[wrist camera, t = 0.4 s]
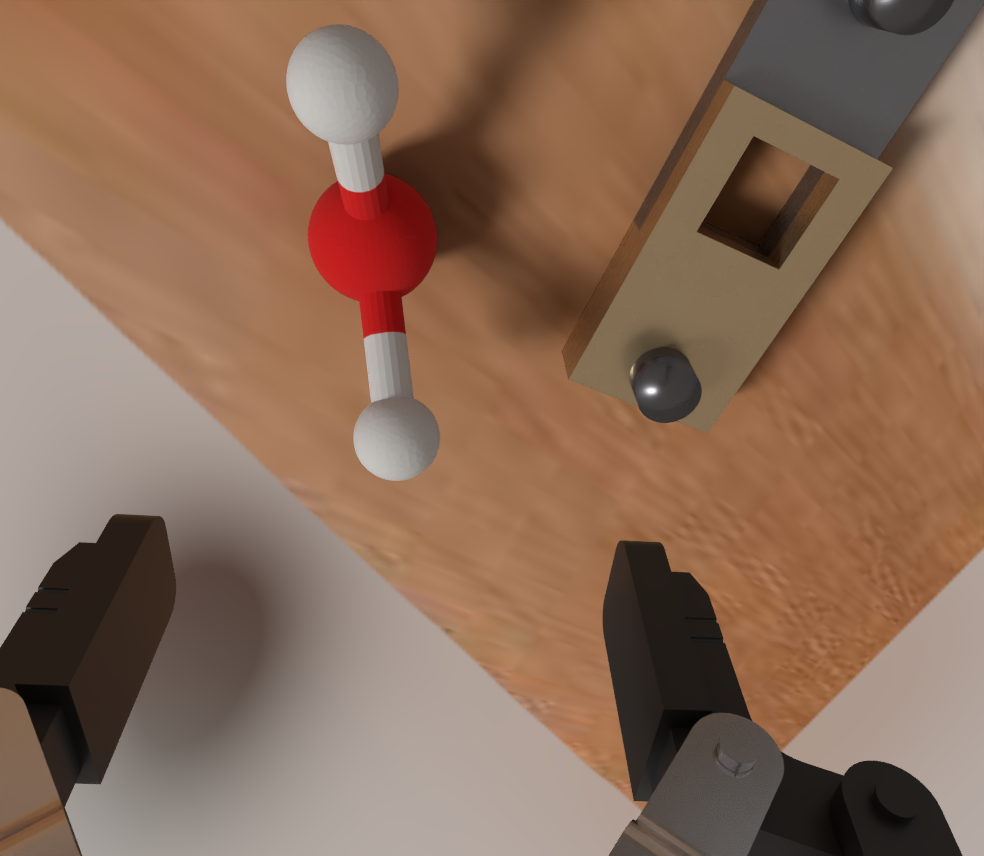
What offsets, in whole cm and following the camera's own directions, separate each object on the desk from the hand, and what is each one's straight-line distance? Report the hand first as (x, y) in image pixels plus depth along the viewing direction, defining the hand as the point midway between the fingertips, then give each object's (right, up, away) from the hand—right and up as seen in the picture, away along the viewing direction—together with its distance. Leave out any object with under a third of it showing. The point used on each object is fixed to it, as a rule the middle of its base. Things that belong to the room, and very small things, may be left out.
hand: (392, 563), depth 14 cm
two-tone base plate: (+14, +14, +22) cm, 30 cm away
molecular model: (-3, +12, +23) cm, 26 cm away
